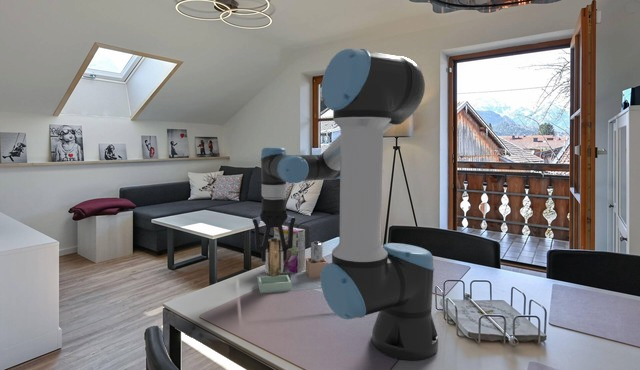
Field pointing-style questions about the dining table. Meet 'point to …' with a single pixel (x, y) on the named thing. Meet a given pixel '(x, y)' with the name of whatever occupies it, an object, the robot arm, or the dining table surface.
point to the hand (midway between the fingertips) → (274, 270)
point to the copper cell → (274, 257)
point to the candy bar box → (294, 249)
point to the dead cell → (316, 252)
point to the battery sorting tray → (293, 279)
